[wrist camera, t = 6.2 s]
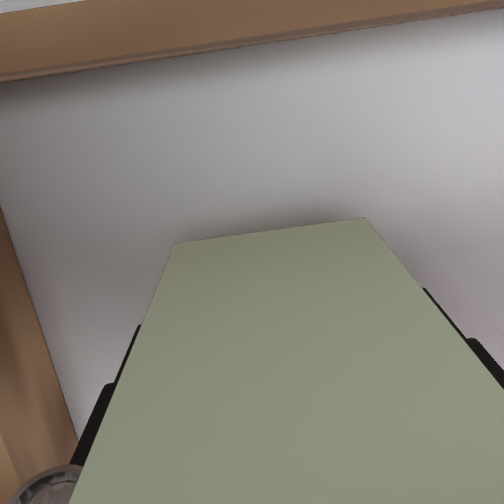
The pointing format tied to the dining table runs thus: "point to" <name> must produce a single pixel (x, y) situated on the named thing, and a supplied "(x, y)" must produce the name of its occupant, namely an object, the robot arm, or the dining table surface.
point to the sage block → (297, 383)
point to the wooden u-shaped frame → (111, 54)
